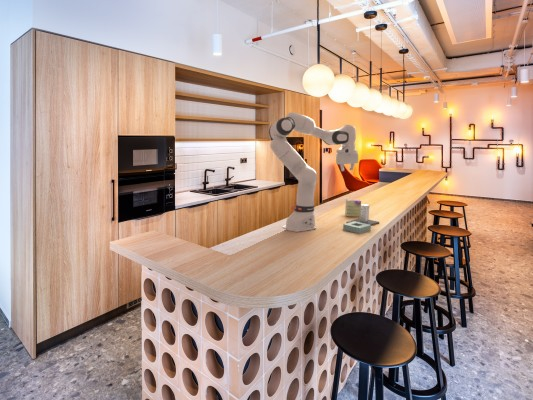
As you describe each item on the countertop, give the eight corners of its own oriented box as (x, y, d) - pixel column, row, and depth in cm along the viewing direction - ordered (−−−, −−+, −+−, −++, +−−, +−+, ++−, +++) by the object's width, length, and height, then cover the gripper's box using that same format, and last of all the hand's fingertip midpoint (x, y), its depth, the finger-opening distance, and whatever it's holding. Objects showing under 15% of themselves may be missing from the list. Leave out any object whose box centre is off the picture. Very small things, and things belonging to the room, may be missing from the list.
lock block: (359, 233, 198) (359, 228, 198) (343, 229, 207) (343, 224, 207) (370, 230, 206) (371, 224, 206) (354, 226, 215) (354, 221, 214)
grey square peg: (365, 223, 219) (366, 205, 217) (359, 222, 222) (360, 204, 220) (368, 222, 222) (369, 204, 219) (363, 221, 225) (364, 204, 222)
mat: (364, 227, 212) (364, 226, 212) (346, 223, 222) (346, 222, 222) (379, 223, 223) (379, 221, 223) (361, 219, 234) (361, 218, 234)
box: (359, 215, 248) (359, 199, 245) (360, 216, 242) (361, 200, 240) (345, 214, 249) (345, 199, 246) (346, 216, 243) (346, 200, 241)
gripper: (353, 149, 229) (352, 169, 232) (334, 150, 216) (333, 171, 219) (361, 149, 225) (359, 170, 227) (342, 150, 211) (341, 171, 214)
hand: (347, 170), depth 223 cm, fingers open, 8 cm apart
